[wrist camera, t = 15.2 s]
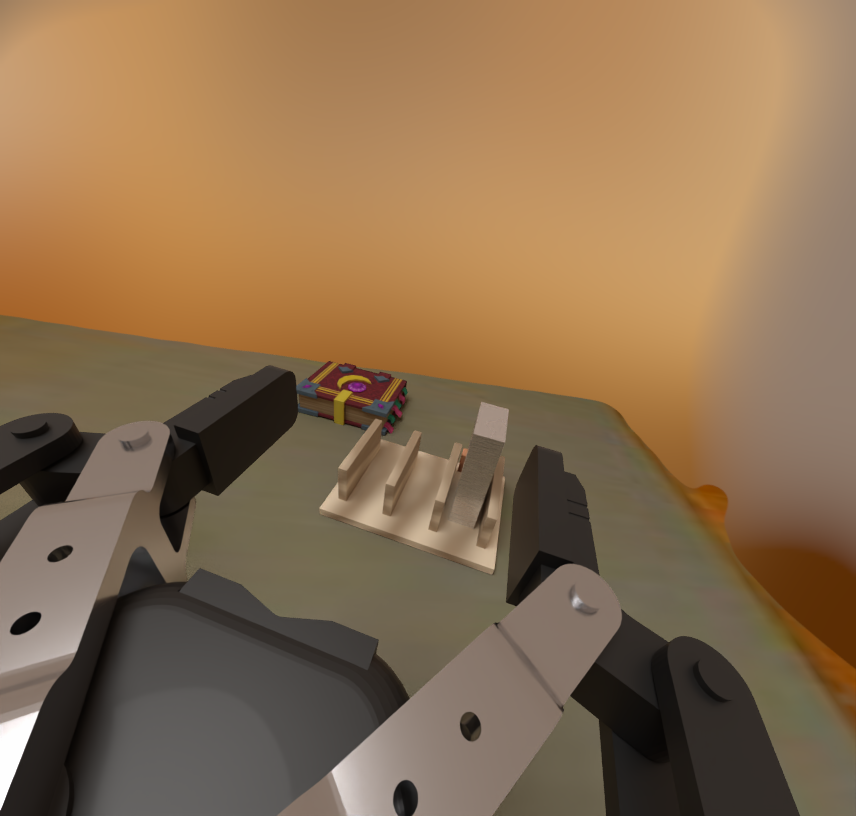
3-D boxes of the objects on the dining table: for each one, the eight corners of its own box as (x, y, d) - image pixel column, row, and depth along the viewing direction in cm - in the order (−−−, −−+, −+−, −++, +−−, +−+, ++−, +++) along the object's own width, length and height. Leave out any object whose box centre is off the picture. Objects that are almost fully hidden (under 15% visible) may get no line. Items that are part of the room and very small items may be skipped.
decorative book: (329, 380, 61) (328, 356, 59) (411, 402, 60) (414, 378, 57) (294, 412, 52) (292, 386, 49) (391, 439, 50) (394, 413, 47)
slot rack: (319, 514, 37) (317, 477, 34) (370, 441, 49) (372, 408, 45) (491, 574, 34) (508, 541, 31) (502, 482, 46) (515, 450, 42)
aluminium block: (448, 520, 38) (473, 433, 31) (457, 484, 43) (481, 402, 36) (473, 528, 38) (504, 442, 30) (480, 491, 42) (508, 409, 35)
